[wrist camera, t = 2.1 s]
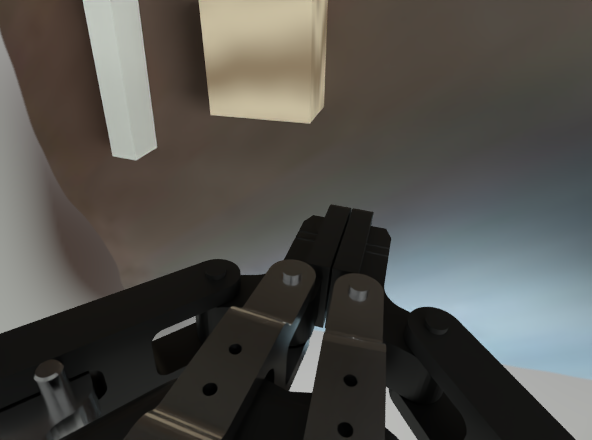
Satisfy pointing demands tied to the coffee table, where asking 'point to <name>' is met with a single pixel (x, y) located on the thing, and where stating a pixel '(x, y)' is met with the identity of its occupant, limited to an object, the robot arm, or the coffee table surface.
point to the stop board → (122, 75)
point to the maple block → (265, 58)
